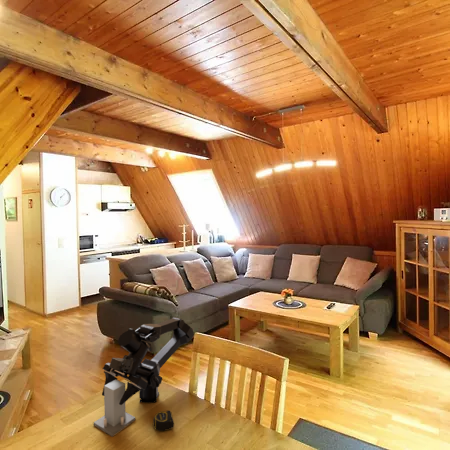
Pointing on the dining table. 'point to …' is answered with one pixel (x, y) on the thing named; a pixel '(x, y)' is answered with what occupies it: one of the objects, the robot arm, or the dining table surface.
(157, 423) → the tape measure
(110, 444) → the dining table surface
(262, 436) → the dining table surface
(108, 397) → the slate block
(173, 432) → the dining table surface
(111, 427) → the plate
